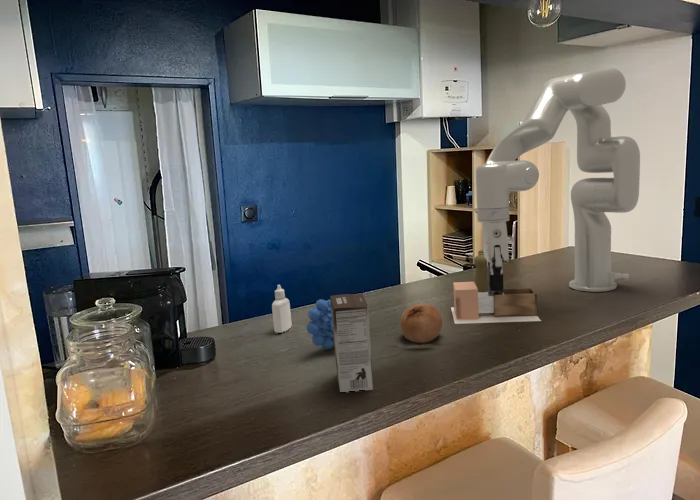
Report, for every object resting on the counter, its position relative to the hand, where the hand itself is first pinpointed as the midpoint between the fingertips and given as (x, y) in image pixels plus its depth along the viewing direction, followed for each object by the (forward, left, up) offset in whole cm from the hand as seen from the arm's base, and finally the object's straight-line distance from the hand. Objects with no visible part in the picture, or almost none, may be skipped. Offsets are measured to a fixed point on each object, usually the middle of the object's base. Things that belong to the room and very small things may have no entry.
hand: (495, 287), depth 129 cm
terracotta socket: (+7, 0, -7) cm, 10 cm away
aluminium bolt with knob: (+3, 0, -6) cm, 7 cm away
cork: (0, -26, -8) cm, 27 cm away
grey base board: (+1, 0, -8) cm, 8 cm away
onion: (+19, +16, -8) cm, 26 cm away
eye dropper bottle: (+54, +5, -8) cm, 54 cm away
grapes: (+39, +20, -8) cm, 44 cm away
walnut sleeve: (-4, 0, -7) cm, 8 cm away
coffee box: (+32, +37, -8) cm, 49 cm away
